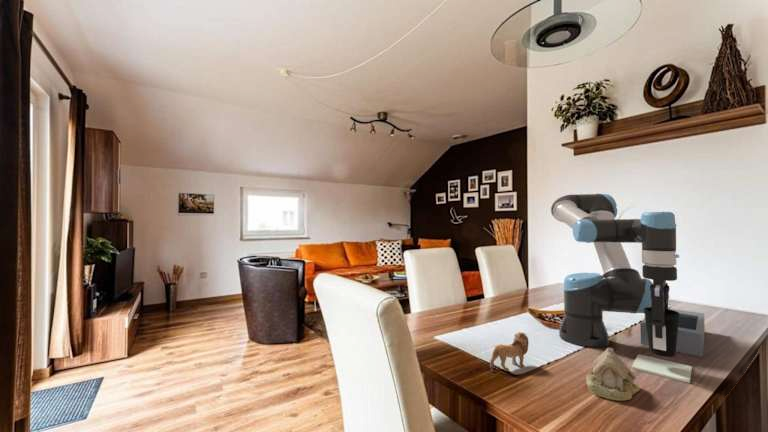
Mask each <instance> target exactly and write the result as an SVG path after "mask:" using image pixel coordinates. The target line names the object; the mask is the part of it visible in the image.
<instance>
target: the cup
mask: <svg viewBox="0 0 768 432" xmlns="http://www.w3.org/2000/svg"><path fill="white" fill-rule="evenodd" d="M670 309H671V308H669V309H665V326H666V351H664V350H659V349H654V348H653V326H652V325H649V322H651V321H652V307H646V308H644V313H643V314H644V318H645V321H646V328H647V335H648V342H649V346H648V350H649V352H650V353H652V354H655V355H657V356H661V357H667V358H675V356H676V353H677V352H676V344H677V334H678V323H679V313H678V312H677V311H674V310H670ZM657 321H659V320H657Z"/></svg>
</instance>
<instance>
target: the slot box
mask: <svg viewBox="0 0 768 432" xmlns="http://www.w3.org/2000/svg"><path fill="white" fill-rule="evenodd" d="M668 309H670V310H674V311H677V312H678V313H679V323H678V334H677V344H676V353H681V354H686V355H689V356H690V355H691V356H697V357H701V358H703V357H704V346H705V345H704V344H705V335H706V334H705V331H706V330H705V329H706V328H705V313H703V312H697V311H690V310H682V309H674V308H669V307H668ZM640 345H643V346H648V347H649V342H648V335H647V328H646V321H645V317H644V318H643V319H642V321H641V322H640Z"/></svg>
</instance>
